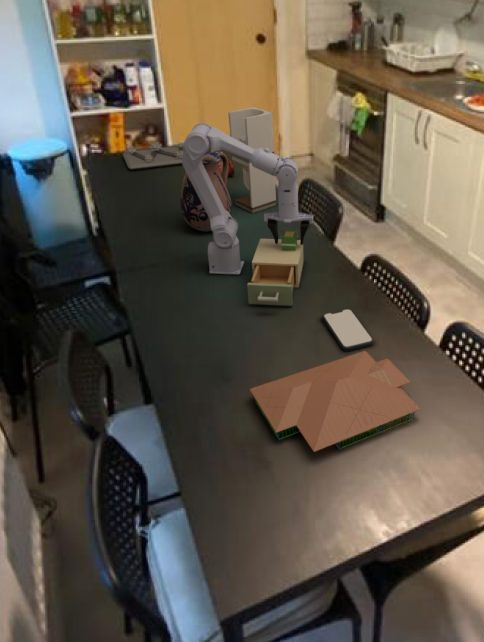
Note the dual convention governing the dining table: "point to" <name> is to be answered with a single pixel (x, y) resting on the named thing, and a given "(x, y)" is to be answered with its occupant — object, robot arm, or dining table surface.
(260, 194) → the gray hollow column
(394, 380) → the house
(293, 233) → the green box
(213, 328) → the dining table surface
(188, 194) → the ceramic pitcher
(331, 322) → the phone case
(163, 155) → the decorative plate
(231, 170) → the beverage can
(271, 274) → the drawer
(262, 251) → the cabinet
